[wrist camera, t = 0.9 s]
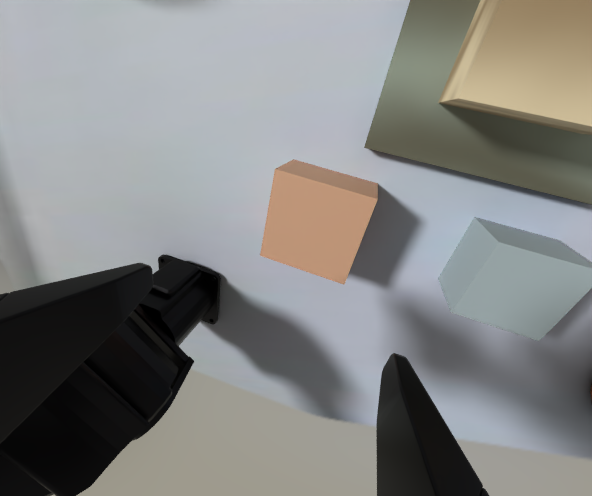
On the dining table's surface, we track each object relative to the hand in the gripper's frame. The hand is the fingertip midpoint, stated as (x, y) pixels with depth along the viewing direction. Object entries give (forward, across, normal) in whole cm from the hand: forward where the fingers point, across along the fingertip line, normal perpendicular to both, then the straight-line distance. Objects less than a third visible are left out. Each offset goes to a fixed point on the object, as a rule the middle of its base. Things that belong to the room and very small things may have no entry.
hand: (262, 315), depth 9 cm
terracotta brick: (+12, 0, 0) cm, 12 cm away
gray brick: (+12, -12, 0) cm, 17 cm away
